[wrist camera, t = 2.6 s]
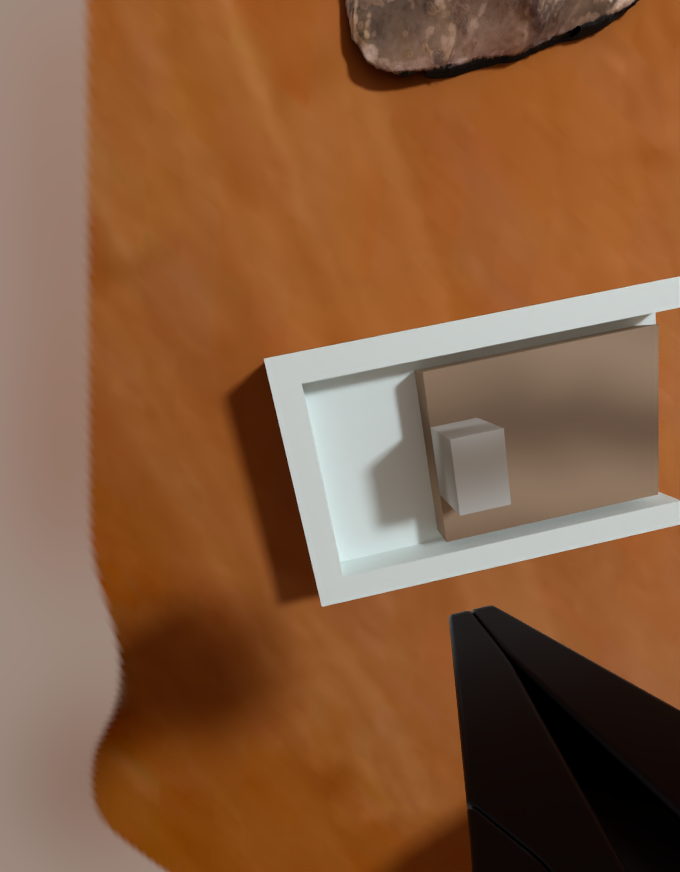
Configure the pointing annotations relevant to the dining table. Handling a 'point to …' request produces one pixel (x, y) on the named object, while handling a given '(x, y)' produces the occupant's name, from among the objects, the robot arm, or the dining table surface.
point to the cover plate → (541, 430)
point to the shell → (468, 31)
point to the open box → (406, 454)
